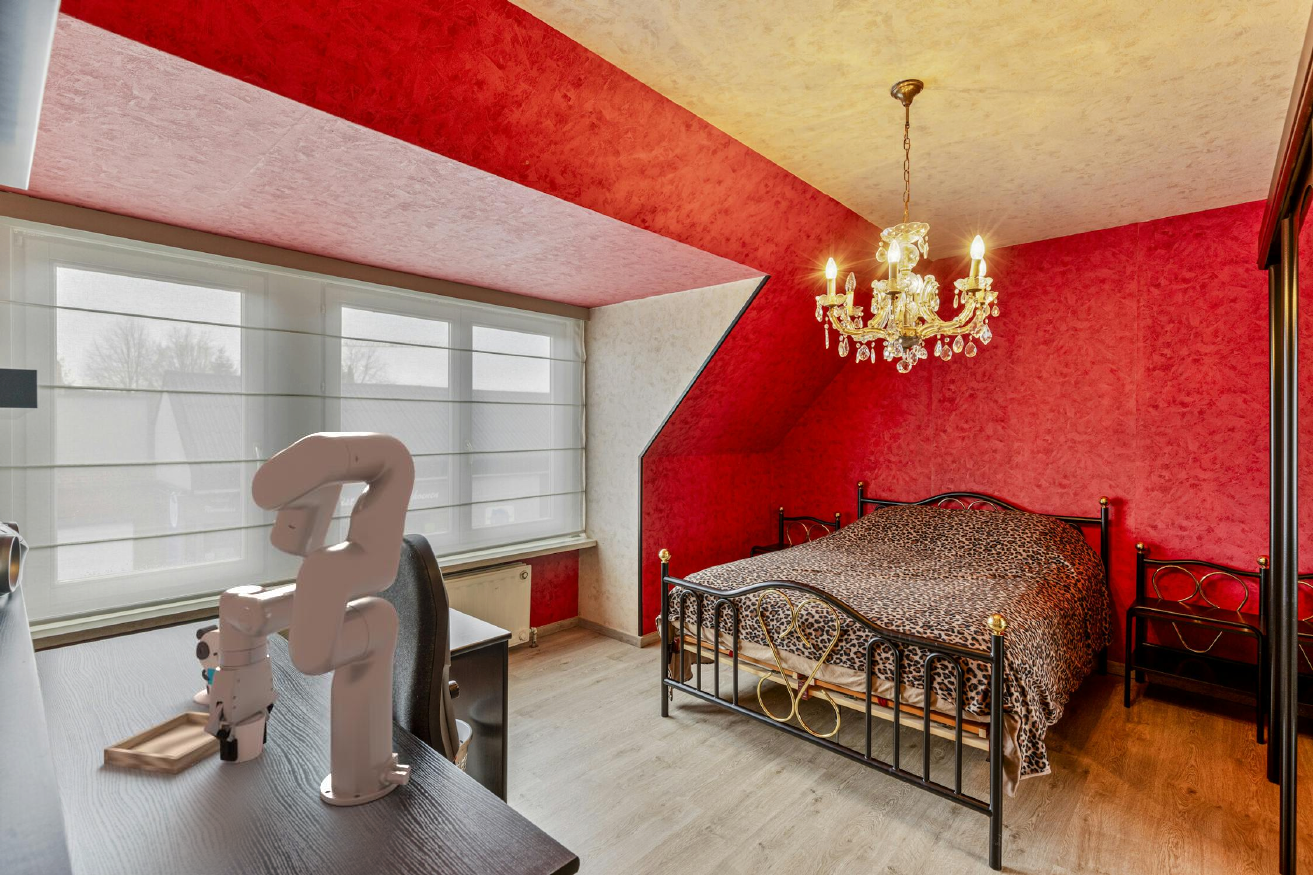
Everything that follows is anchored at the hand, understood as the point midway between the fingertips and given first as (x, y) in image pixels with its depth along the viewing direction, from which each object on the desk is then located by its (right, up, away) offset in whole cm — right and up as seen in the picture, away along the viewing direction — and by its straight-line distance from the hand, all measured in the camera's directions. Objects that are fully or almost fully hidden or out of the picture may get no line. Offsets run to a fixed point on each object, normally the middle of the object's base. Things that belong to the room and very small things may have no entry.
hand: (243, 750), depth 116 cm
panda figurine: (-23, -1, +27) cm, 36 cm away
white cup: (0, -1, 0) cm, 1 cm away
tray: (-14, -1, +3) cm, 14 cm away
